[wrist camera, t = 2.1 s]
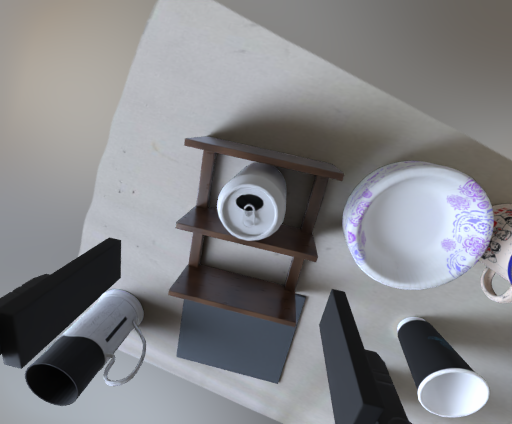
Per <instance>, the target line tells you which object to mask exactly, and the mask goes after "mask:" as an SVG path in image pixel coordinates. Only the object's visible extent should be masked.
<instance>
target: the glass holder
mask: <svg viewBox="0 0 512 424" xmlns="http://www.w3.org/2000/svg"><path fill="white" fill-rule="evenodd" d="M143 316H144V312H143V308H142V305H141V304H140V302H139V301H138V300H137V298H136V297H134V296H133V295H132V294H130V293H128V292H126V291H124V290H119V289H112V290H108V291H106V292H105V293H103V294H102V296H101V297H100V300H99V301H98V302H97V303H96V304H95V305H94V306H93V307H92V308H91V309H90V310H89V311H88V312H86V313H85V314H84V315H83V316H82V317H81V318H80V319H79V320H78V321H77V322H76V323H74V324H73V325H72V326H71V327H70V328H69V329H68V330H67V331H66V332H65V333H64V334H62V335H61V337H59V338H58V339H57V340H56V341H55V342H54V343H53V344H52V345H51V346H49V348H48V349H47V350H46V351H45V352H44V354H43V355H41V357H40V358H38V359H37V360H36V361H35V362H34V363H33V364H32V365H31V366H30V367H28V368H27V371H26V373H25V379H26V382H27V385H28V386H29V388H30V389H31V390H32V392H33V393H34V394H36V395H37V396H38V397H39V398H41V399H43V400H44V401H46V402H48V403H51V404H54V405H60V406H64V405H65V406H66V405H70V404H72V403H73V402H74V401H76V399H77V398H78V396H80V394H81V393H82V391H83V390H84V389H85V388H86V387H87V385H88V384H89V383H90V381H91V380H92V379H93V378H94V376H95V375H96V374H97V372H98V371H100V370H101V369H102V368H103V366H104V365H105V364H106V363H107V361H108V360H109V359H110V358H112V359H111V361H110V362H109V364H108V365H107V367H106V369H105V372H104V380H105V382H106V384H108V385H110V386H118V385H122V384H124V383H126V382H128V381H129V380H131V379H132V378H133V377H134V376H135V374H136V373H137V371H138V370H139V368H140V366H141V365H142V363H143V360H144V357H145V352H146V341H145V338H144V336H143V335H142V333H141V331H140V330H139V328H138V327H137V326H138V325H139V324H140V323H141V321H142V320H143ZM133 328H135V330H136V331H137V333H138V334H139V336H140V337H141V339H142V342H143V352H142V356H141V358H140V361H139V363H138V364H137V366H136V368H135V369H134V370H133V372H132V373H131V374H130V375H129V376H127V377H126V378H124V379H122V380H117V381H111V380H109V379H108V378H107V374H108V371H109V370H110V368H111V366H112V365H113V363H114V362H115V356H114V352H115V351H116V350H117V349H118V347H119V346H120V345H121V343H122V342H123V341H124V340H125V338H126V337H127V336H128V334H129V333H130V332H131V330H132V329H133Z"/></svg>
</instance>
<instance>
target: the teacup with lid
mask: <svg viewBox="0 0 512 424" xmlns="http://www.w3.org/2000/svg"><path fill="white" fill-rule="evenodd" d="M492 209H493V214H494V226H493V233H492V236H491V239H490V242H489V244H488V247H487V249H486V250H485V252H484V254H483V255H482V256H481V258H480V259H479V261H480V262H482V263H483V264H484V265H486V266H487V267H486V268H485V270H484V271H483V273H482V275H481V287H482V289H483V291H484V293H485V294H486V295H487V297H489V298H490V299H491V300H493V301H496V302H498V303H509V302H512V285H511V286H510V288H509V289H508V290H507V291H506V292H505V293H504V294H502V295H500V296H497V295H496V294H495V292H494V290H493V288H492V278H493V276H494V275H495V273H497V274H499V275H500V276H501V277H503V278H504V279H506V280H507V281H509V282H510V283H511V284H512V204H500V205H495V206H492Z"/></svg>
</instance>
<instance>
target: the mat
mask: <svg viewBox="0 0 512 424" xmlns="http://www.w3.org/2000/svg"><path fill="white" fill-rule="evenodd" d="M295 297H296V326H297V323H298V320H299V317H300V314H301V311H302V308H303V304H304V301H305V298H306V297H305V296H301V295H297V294H295ZM296 326H295V327H291V326H288V325H284V324H280V323H276V322H272V321H268V320H264V319H260V318H256V317H252V316H249V315H245V314H241V313H237V312H233V311H229V310H225V309H221V308H217V307H213V306H209V305H206V304H202V303H198V302H194V301H190V300H186V299H184V304H183V312H182V319H181V327H180V334H179V342H178V349H177V357H180V358H183V359H187V360H191V361H194V362H198V363H202V364H206V365H209V366H213V367H217V368H221V369H224V370H228V371H232V372H235V373H239V374H243V375H247V376H250V377H254V378H258V379H262V380H265V381H269V382H273V383H276V384H278V382H279V378H280V375H281V372H282V369H283V366H284V363H285V360H286V357H287V354H288V351H289V348H290V345H291V341H292V338H293V335H294V332H295V329H296Z"/></svg>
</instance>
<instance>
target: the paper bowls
mask: <svg viewBox="0 0 512 424" xmlns="http://www.w3.org/2000/svg"><path fill="white" fill-rule="evenodd" d="M342 226H343V232H344V236H345V240H346V243H347V245H348V247H349V250H350V252H351V254H352V256H353V258H354V260H355V261H356V263H357V265H358V266H359V267H360V268H361V269H362V270H363V271H364V272H365V273H366V274H367V275H368V276H370V277H371V278H372V279H374V280H376V281H378V282H380V283H382V284H384V285H387V286H390V287H394V288H398V289H407V290H420V289H428V288H433V287H437V286H440V285H443V284H445V283H448V282H450V281H452V280H454V279H456V278H458V277H459V276H461V275H463V274H464V273H465V272H467V271H468V270H469V269H470V268H471V267H472V266H474V265H475V264H476V263H477V261H478V260H479V259H480V258H481V256H482V255H483V254H484V252H485V250H486V249H487V247H488V244H489V242H490V239H491V236H492V233H493V226H494V214H493V209H492V205H491V203H490V200H489V198H488V196H487V194H486V193H485V191H484V190H483V188H482V187H481V186H480V185H479V184H478V183H477V182H476V181H475V180H474V179H472V178H471V177H470V176H468V175H467V174H465V173H463V172H461V171H458V170H456V169H454V168H450V167H446V166H442V165H437V164H433V163H429V162H423V161H402V162H396V163H392V164H389V165H386V166H383V167H380V168H378V169H377V170H375V171H374V172H372V173H370V174H369V175H368V176H366V177H365V178H364V179H363V180H362V181H361V182H360V183H359V184H358V185H357V186H356V187H355V189H354V190H353V192H352V193H351V196H349V198H348V200H347V202H346V205H345V208H344V212H343V220H342Z"/></svg>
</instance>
